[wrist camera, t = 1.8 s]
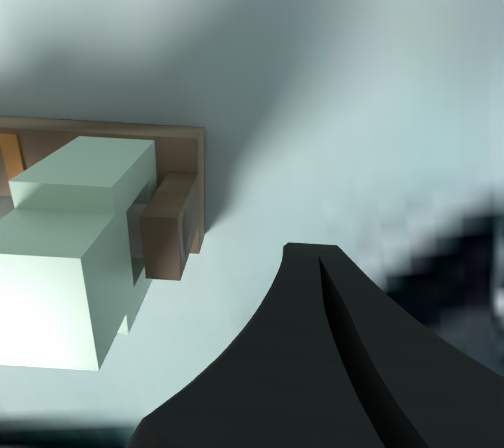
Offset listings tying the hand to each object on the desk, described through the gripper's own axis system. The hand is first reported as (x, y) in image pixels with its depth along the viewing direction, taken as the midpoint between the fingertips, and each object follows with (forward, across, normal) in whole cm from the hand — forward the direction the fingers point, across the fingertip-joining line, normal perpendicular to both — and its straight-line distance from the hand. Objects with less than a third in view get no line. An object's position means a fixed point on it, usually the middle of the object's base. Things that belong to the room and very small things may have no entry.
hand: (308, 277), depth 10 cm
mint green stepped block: (+4, +6, 0) cm, 7 cm away
